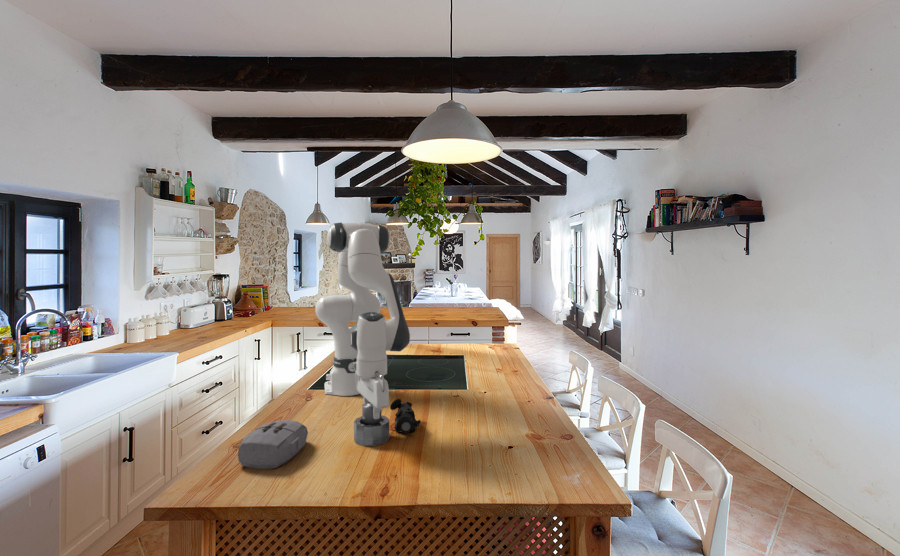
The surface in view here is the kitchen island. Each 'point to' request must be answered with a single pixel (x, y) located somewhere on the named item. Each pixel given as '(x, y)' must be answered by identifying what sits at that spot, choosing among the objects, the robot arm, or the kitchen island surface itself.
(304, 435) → the grey rounded bag
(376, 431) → the grey faceted round container
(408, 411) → the night vision scope
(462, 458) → the kitchen island surface
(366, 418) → the white-tipped grey cylinder
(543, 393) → the kitchen island surface
